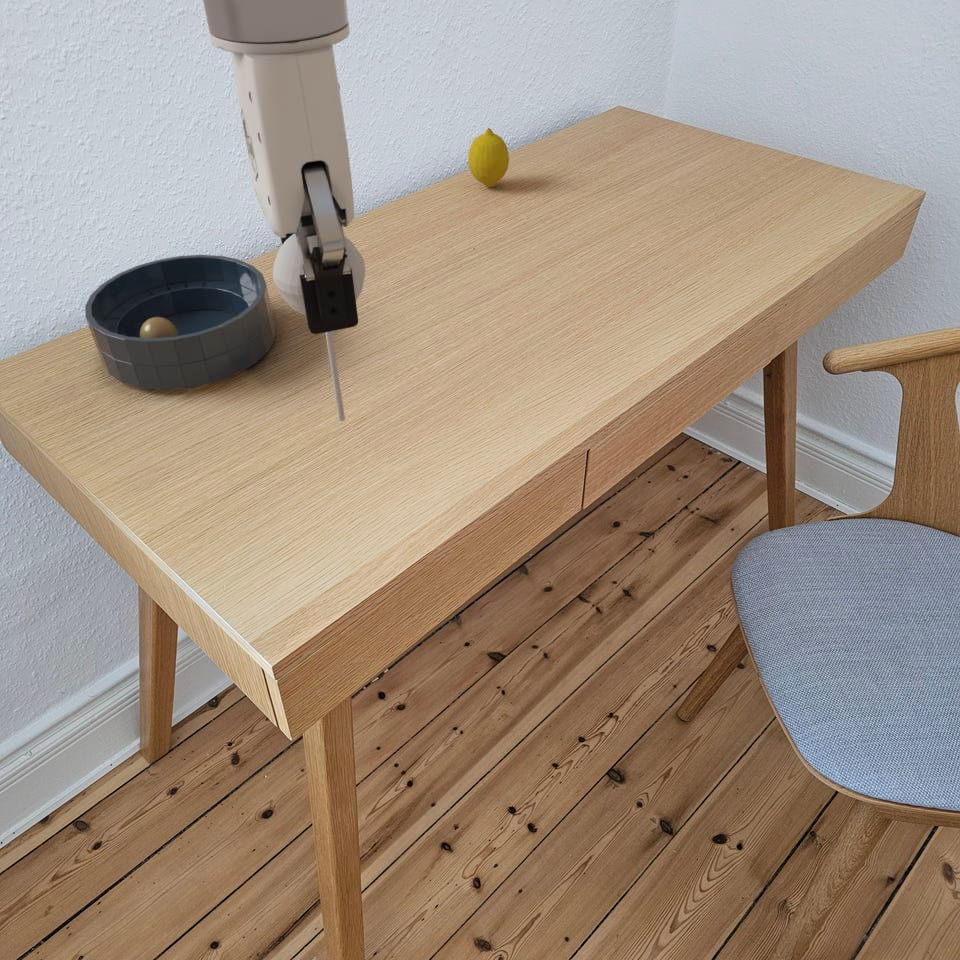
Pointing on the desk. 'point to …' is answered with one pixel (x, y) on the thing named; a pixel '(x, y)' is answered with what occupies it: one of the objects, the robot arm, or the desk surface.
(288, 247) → the lollipop
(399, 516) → the desk surface
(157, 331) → the bead
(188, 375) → the bowl
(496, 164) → the fruit
